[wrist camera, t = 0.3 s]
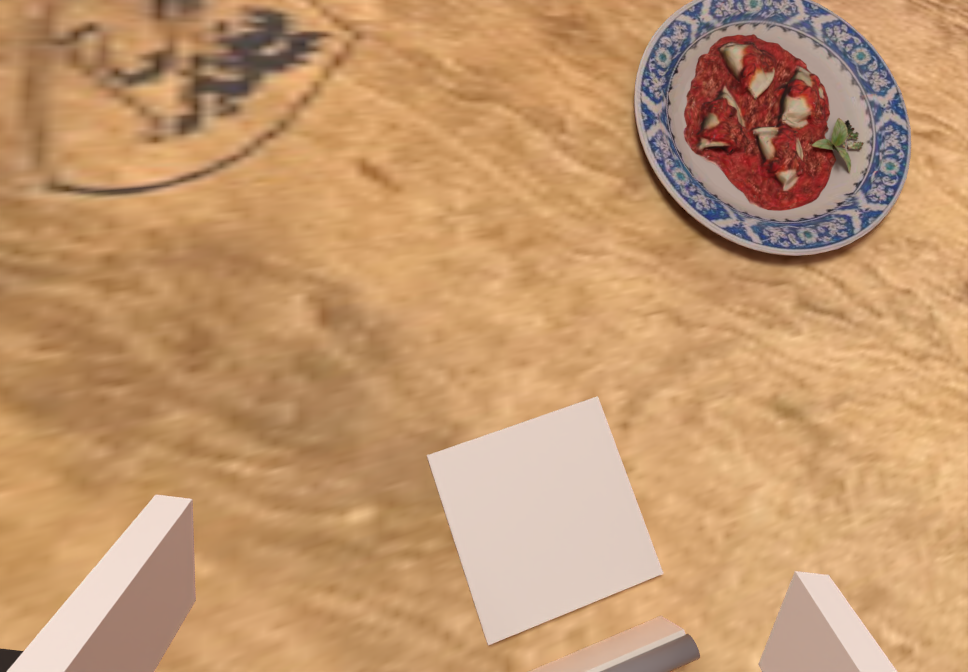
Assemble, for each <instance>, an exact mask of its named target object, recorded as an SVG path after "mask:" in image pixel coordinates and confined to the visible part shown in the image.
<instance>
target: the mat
mask: <svg viewBox="0 0 968 672" xmlns="http://www.w3.org/2000/svg"><path fill="white" fill-rule="evenodd" d="M427 458H428V462H429V465H430V468H431V471H432V474H433V477H434V480H435V483H436V486H437V489H438V493H439V496H440V499H441V502H442V505H443V508H444V511H445V514H446V517H447V520H448V524H449V527H450V530H451V533H452V536H453V539H454V542H455V545H456V548H457V552H458V555H459V558H460V561H461V564H462V567H463V570H464V573H465V576H466V579H467V583H468V586H469V589H470V592H471V595H472V598H473V601H474V604H475V607H476V610H477V614H478V617H479V620H480V623H481V626H482V629H483V632H484V635H485V638H486V641H487V644H488V645H490V644H493V643H495V642H498V641H500V640H503V639H505V638H508V637H510V636H512V635H515V634H517V633H520V632H522V631H525V630H527V629H529V628H532V627H534V626H537V625H539V624H542V623H544V622H547V621H549V620H551V619H554V618H556V617H559V616H561V615H564V614H566V613H569V612H571V611H573V610H576V609H578V608H581V607H583V606H586V605H588V604H590V603H593V602H595V601H598V600H600V599H603V598H605V597H608V596H610V595H612V594H615V593H617V592H620V591H622V590H625V589H627V588H630V587H632V586H634V585H637V584H639V583H642V582H644V581H647V580H649V579H651V578H654V577H656V576H659V575H661V574H663V571H662V568H661V566H660V563H659V560H658V557H657V555H656V552H655V549H654V547H653V544H652V541H651V539H650V536H649V533H648V530H647V528H646V525H645V522H644V520H643V517H642V514H641V512H640V509H639V506H638V503H637V501H636V498H635V495H634V493H633V490H632V487H631V485H630V482H629V479H628V476H627V474H626V471H625V468H624V466H623V463H622V460H621V458H620V455H619V452H618V449H617V447H616V444H615V441H614V439H613V436H612V433H611V431H610V428H609V425H608V422H607V420H606V417H605V414H604V412H603V409H602V406H601V404H600V401H599V398H598V396H597V397H594V398H591V399H588V400H586V401H583V402H580V403H577V404H574V405H571V406H568V407H565V408H563V409H560V410H557V411H554V412H551V413H548V414H545V415H542V416H539V417H537V418H534V419H531V420H528V421H525V422H522V423H519V424H516V425H514V426H511V427H508V428H505V429H502V430H499V431H496V432H493V433H490V434H488V435H485V436H482V437H479V438H476V439H473V440H470V441H467V442H464V443H462V444H459V445H456V446H453V447H450V448H447V449H444V450H441V451H439V452H436V453H433V454H430V455H427Z"/></svg>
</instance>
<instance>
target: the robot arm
mask: <svg viewBox="0 0 968 672" xmlns="http://www.w3.org/2000/svg"><path fill="white" fill-rule="evenodd" d="M195 601H196V596H195V564H194V533H193V501H192V499H188V498H180V497H171V496H163V495H155V496H154V497H153V499H152V500H151V501H150V502H149V503H148V504H147V506H146V507H145V508H144V509H143V510H142V512H141V513H140V514H139V515H138V516H137V518H136V519H135V520H134V521H133V522H132V523H131V525H130V526H129V527H128V528H127V529H126V531H125V532H124V533H123V534H122V535H121V536H120V538H119V539H118V540H117V541H116V542H115V544H114V545H113V546H112V547H111V548H110V550H109V551H108V552H107V553H106V554H105V555H104V557H103V558H102V559H101V560H100V561H99V563H98V564H97V565H96V566H95V567H94V569H93V570H92V571H91V572H90V573H89V574H88V576H87V577H86V578H85V579H84V580H83V582H82V583H81V584H80V585H79V586H78V587H77V589H76V590H75V591H74V592H73V593H72V595H71V596H70V597H69V598H68V599H67V601H66V602H65V603H64V604H63V605H62V606H61V608H60V609H59V610H58V611H57V612H56V614H55V615H54V616H53V617H52V618H51V620H50V621H49V622H48V623H47V624H46V625H45V627H44V628H43V629H42V630H41V631H40V633H39V634H38V635H37V636H36V637H35V638H34V640H33V641H32V642H31V643H30V644H29V646H28V647H27V648H26V649H25V650H24V651H17V650H8V649H0V672H154V671H155V669H156V667H157V666H158V664H159V662H160V660H161V659H162V657H163V655H164V654H165V652H166V650H167V648H168V647H169V645H170V643H171V642H172V640H173V638H174V637H175V635H176V633H177V631H178V630H179V628H180V626H181V625H182V623H183V621H184V619H185V618H186V616H187V614H188V613H189V611H190V609H191V608H192V606H193V604H194V602H195ZM759 666H760V668H761V670H762V672H897V670H896V669H895V668H894V666H893V665H892V663H891V662H890V661H889V659H888V658H887V656H886V655H885V654H884V652H883V651H882V649H881V648H880V647H879V645H878V644H877V642H876V641H875V640H874V638H873V637H872V635H871V634H870V632H869V631H868V630H867V628H866V627H865V625H864V624H863V623H862V621H861V620H860V618H859V617H858V616H857V614H856V613H855V611H854V610H853V609H852V607H851V606H850V604H849V603H848V602H847V600H846V599H845V597H844V596H843V595H842V593H841V592H840V590H839V589H838V587H837V586H836V585H835V583H834V582H833V580H832V579H831V578H830V576H829V575H823V574H815V573H806V572H798V571H795V572H794V575H793V578H792V580H791V583H790V585H789V588H788V590H787V593H786V595H785V598H784V600H783V603H782V606H781V608H780V611H779V613H778V616H777V618H776V621H775V623H774V626H773V628H772V631H771V634H770V636H769V639H768V641H767V644H766V646H765V649H764V651H763V654H762V656H761V659H760V662H759Z"/></svg>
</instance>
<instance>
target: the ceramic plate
mask: <svg viewBox="0 0 968 672" xmlns="http://www.w3.org/2000/svg"><path fill="white" fill-rule="evenodd" d="M634 106H635V117H636V124H637V129H638V133H639V137H640V140H641V143H642V146H643V149H644V152H645V154H646V156H647V158H648V160H649V163H650V165H651V167H652V168H653V170H654V172H655V174H656V175H657V177H658V179H659V180H660V182H661V183H662V184H663V186H664V187H665V189H666V190H667V191H668V192H669V194H670V195H671V196H672V197H673V198H674V199H675V201H676V202H677V203H678V204H679V205H680V206H681V207H682V208H683V209H684V210H685V211H686V212H687V213H688V214H690V215H691V216H692V217H693V218H695V219H696V220H697V221H698V222H699V223H701V224H702V225H704V226H705V227H707V228H708V229H710V230H711V231H713V232H714V233H716V234H718V235H720V236H721V237H723V238H725V239H727V240H729V241H732V242H734V243H736V244H738V245H741V246H744V247H747V248H750V249H753V250H757V251H761V252H765V253H770V254H777V255H790V256H799V255H813V254H819V253H823V252H827V251H831V250H835V249H838V248H840V247H843V246H845V245H848V244H850V243H852V242H854V241H855V240H857V239H859V238H861V237H862V236H864V235H865V234H867V233H868V232H870V231H871V230H872V229H873V228H874V227H875V226H876V225H878V224H879V223H880V222H881V221H882V219H883V218H884V217H885V216H886V215H887V214H888V213H889V211H890V210H891V208H892V207H893V205H894V204H895V202H896V200H897V198H898V197H899V195H900V193H901V190H902V188H903V185H904V183H905V180H906V178H907V173H908V169H909V163H910V155H911V128H910V123H909V118H908V114H907V110H906V106H905V103H904V100H903V96H902V93H901V90H900V88H899V86H898V84H897V82H896V81H895V79H894V77H893V75H892V73H891V71H890V70H889V68H888V66H887V65H886V63H885V62H884V60H883V59H882V58H881V56H880V55H879V53H878V52H877V51H876V49H875V48H874V47H873V45H872V44H871V43H870V42H869V41H868V40H867V39H866V38H865V37H863V36H862V35H861V34H860V33H859V32H858V31H857V30H856V29H855V28H854V27H852V26H851V25H850V24H849V23H848V22H846V21H845V20H844V19H842V18H841V17H839V16H838V15H836V14H835V13H833V12H832V11H830V10H828V9H827V8H825V7H823V6H822V5H820V4H818V3H816V2H813V1H811V0H693V1H692V2H690V3H688V4H686V5H685V6H683V7H682V8H680V9H679V10H677V11H676V12H675V13H673V14H672V15H671V16H670V17H669V18H668V19H667V20H666V21H665V22H664V23H663V24H662V25H661V26H660V27H659V29H658V30H657V31H656V33H655V34H654V36H653V37H652V38H651V40H650V42H649V44H648V46H647V47H646V49H645V52H644V54H643V57H642V59H641V62H640V66H639V69H638V73H637V77H636V83H635V96H634Z"/></svg>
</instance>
